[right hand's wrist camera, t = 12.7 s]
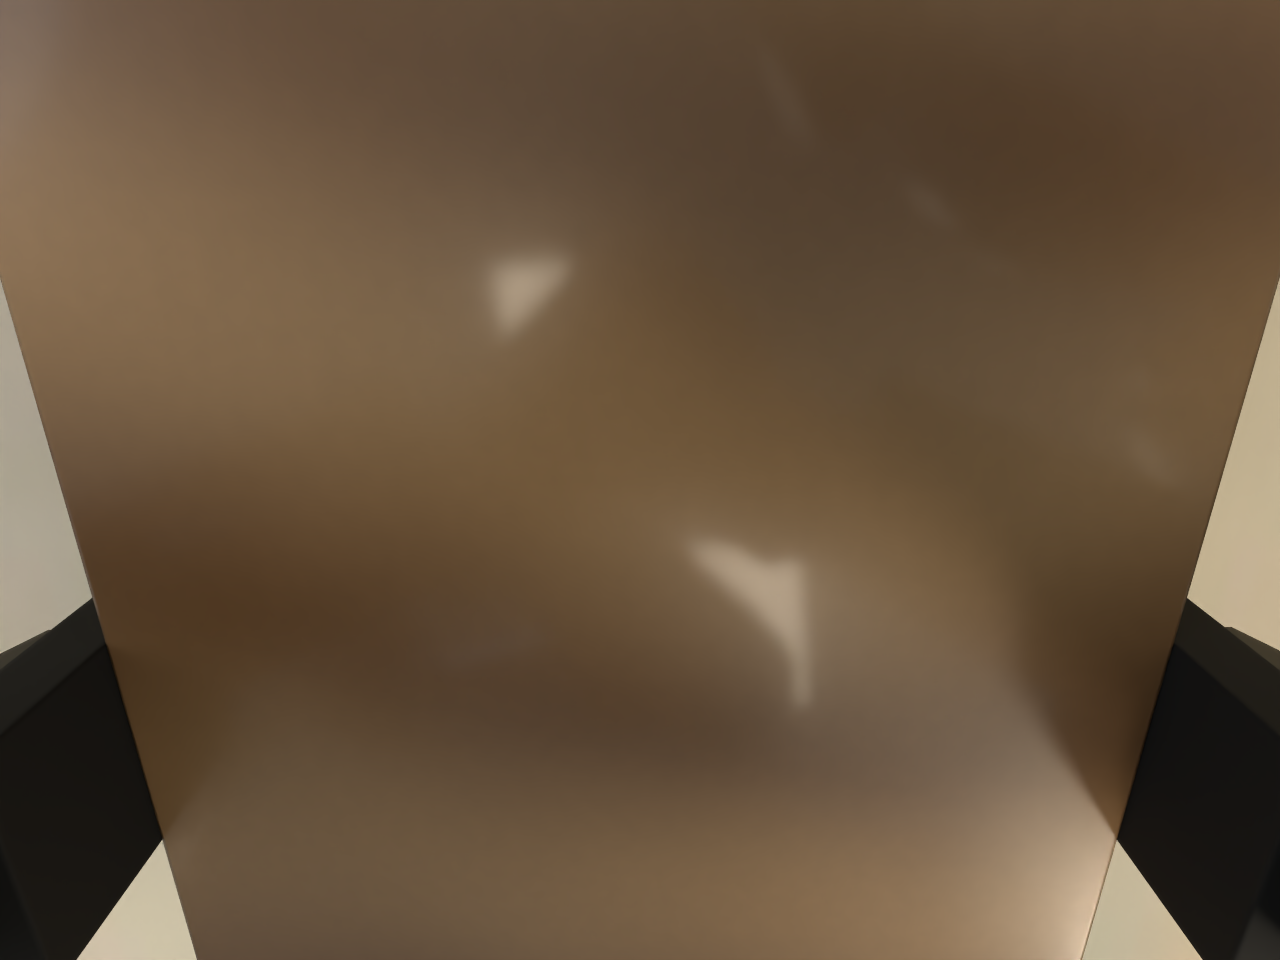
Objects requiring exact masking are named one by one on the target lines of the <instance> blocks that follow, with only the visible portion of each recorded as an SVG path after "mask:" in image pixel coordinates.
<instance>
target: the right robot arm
mask: <svg viewBox="0 0 1280 960" xmlns="http://www.w3.org/2000/svg"><path fill="white" fill-rule="evenodd" d="M1117 840H1118V842H1119V843H1120V845H1121V846H1122V847H1123V849H1124V850H1125V852H1126V853H1127V854H1128V856H1129V857H1130V859H1131V860H1132V861H1133V863H1134V864H1135V866H1136V867H1137V868H1138V870H1139V871H1140V873H1141V874H1142V875H1143V877H1144V878H1145V880H1146V881H1147V882H1148V884H1149V885H1150V887H1151V888H1152V889H1153V891H1154V892H1155V894H1156V895H1157V896H1158V898H1159V899H1160V901H1161V902H1162V903H1163V905H1164V906H1165V908H1166V909H1167V910H1168V912H1169V913H1170V915H1171V916H1172V917H1173V919H1174V920H1175V922H1176V923H1177V924H1178V926H1179V927H1180V929H1181V930H1182V931H1183V933H1184V934H1185V936H1186V937H1187V938H1188V940H1189V941H1190V943H1191V944H1192V945H1193V947H1194V948H1195V950H1196V951H1197V952H1198V954H1199V955H1200V957H1201V958H1202V959H1203V960H1280V651H1279V650H1277V649H1275V648H1273V647H1271V646H1269V645H1267V644H1265V643H1263V642H1261V641H1259V640H1257V639H1255V638H1253V637H1251V636H1249V635H1247V634H1244V633H1242V632H1240V631H1238V630H1236V629H1234V628H1232V627H1224V626H1222V625H1221V624H1220V623H1218V622H1217V621H1216V620H1215V619H1213V618H1212V617H1211V616H1209V615H1208V614H1207V613H1206V612H1204V611H1203V610H1202V609H1200V608H1199V607H1198V606H1197V605H1195V604H1194V603H1193V602H1191V601H1190V600H1189V599H1188V598H1187V599H1186V602H1185V606H1184V609H1183V613H1182V616H1181V619H1180V623H1179V626H1178V630H1177V633H1176V637H1175V640H1174V644H1173V647H1172V650H1171V654H1170V657H1169V661H1168V664H1167V668H1166V671H1165V675H1164V678H1163V682H1162V685H1161V688H1160V692H1159V695H1158V699H1157V702H1156V706H1155V709H1154V713H1153V716H1152V720H1151V723H1150V726H1149V730H1148V733H1147V737H1146V740H1145V744H1144V747H1143V751H1142V754H1141V758H1140V761H1139V764H1138V768H1137V771H1136V775H1135V778H1134V782H1133V785H1132V789H1131V792H1130V795H1129V799H1128V802H1127V806H1126V809H1125V813H1124V816H1123V820H1122V823H1121V827H1120V830H1119V833H1118V837H1117ZM161 841H162V836H161V833H160V829H159V826H158V822H157V819H156V815H155V812H154V809H153V805H152V802H151V798H150V795H149V791H148V788H147V784H146V781H145V777H144V774H143V770H142V767H141V764H140V760H139V757H138V753H137V750H136V746H135V743H134V739H133V736H132V732H131V729H130V725H129V722H128V719H127V715H126V712H125V708H124V705H123V701H122V698H121V694H120V691H119V687H118V684H117V680H116V677H115V674H114V670H113V667H112V663H111V660H110V656H109V653H108V649H107V646H106V642H105V639H104V635H103V632H102V629H101V625H100V622H99V618H98V615H97V611H96V608H95V604H94V601H93V598H91V599H90V600H89V601H88V602H86V603H85V604H84V605H82V606H81V607H80V608H79V609H77V610H76V611H75V612H73V613H72V614H71V615H70V616H68V617H67V618H66V619H64V620H63V621H62V622H61V623H59V624H58V625H57V626H55V627H54V628H53V629H52V630H47V631H45V632H43V633H41V634H39V635H37V636H35V637H33V638H31V639H29V640H27V641H25V642H23V643H21V644H19V645H17V646H15V647H13V648H11V649H9V650H7V651H5V652H3V653H1V654H0V960H77V958H78V957H79V955H80V954H81V953H82V951H83V950H84V948H85V947H86V946H87V944H88V943H89V941H90V940H91V939H92V937H93V936H94V934H95V933H96V932H97V930H98V929H99V927H100V926H101V925H102V923H103V922H104V920H105V919H106V918H107V916H108V915H109V913H110V912H111V911H112V909H113V908H114V906H115V905H116V904H117V902H118V901H119V899H120V898H121V897H122V895H123V894H124V892H125V891H126V890H127V888H128V887H129V885H130V884H131V883H132V881H133V880H134V878H135V877H136V876H137V874H138V873H139V871H140V870H141V869H142V867H143V866H144V864H145V863H146V862H147V860H148V859H149V857H150V856H151V855H152V853H153V852H154V850H155V849H156V848H157V846H158V845H159V843H160V842H161Z"/></svg>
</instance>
